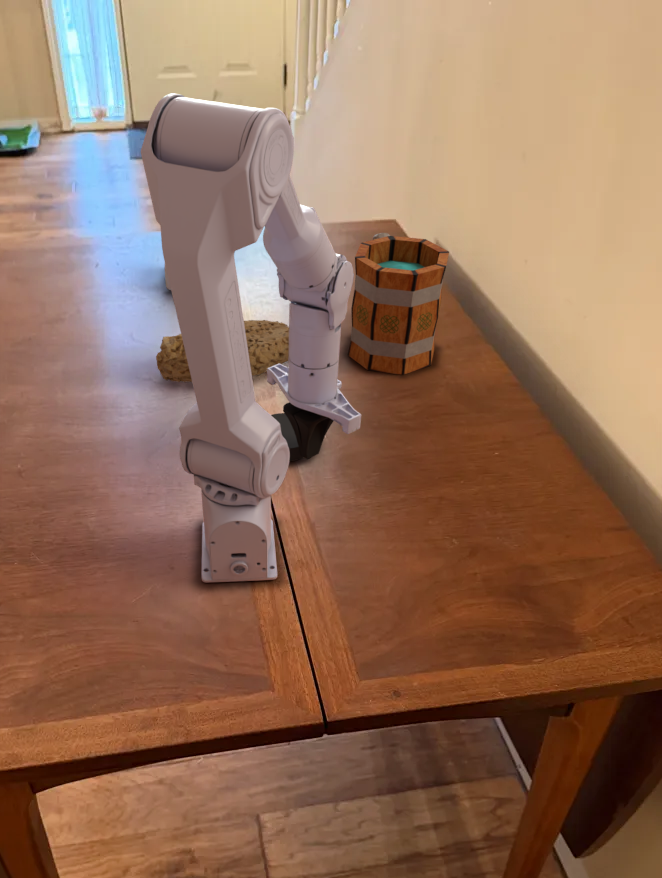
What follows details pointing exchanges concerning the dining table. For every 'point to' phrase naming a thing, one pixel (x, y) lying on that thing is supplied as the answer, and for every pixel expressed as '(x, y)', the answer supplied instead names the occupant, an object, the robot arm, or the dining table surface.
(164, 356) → the sponge
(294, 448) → the puck
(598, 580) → the dining table surface
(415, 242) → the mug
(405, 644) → the dining table surface
